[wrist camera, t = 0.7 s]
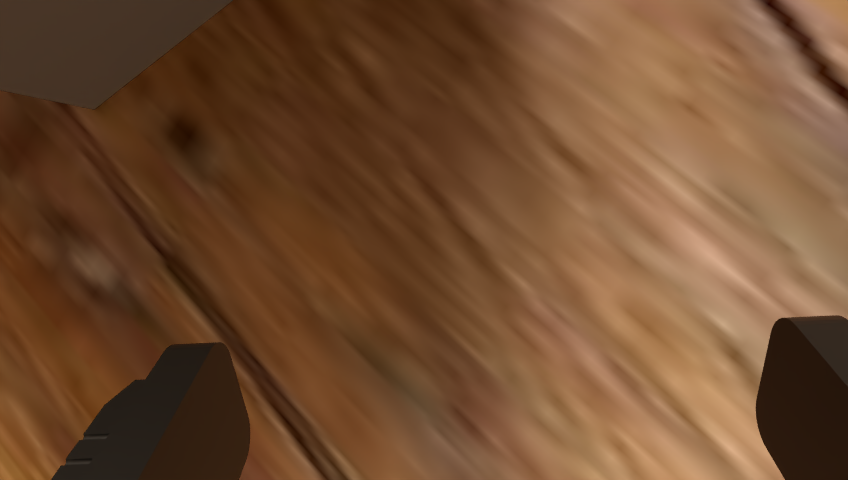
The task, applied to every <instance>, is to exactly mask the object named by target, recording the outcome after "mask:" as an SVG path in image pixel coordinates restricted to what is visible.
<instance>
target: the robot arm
mask: <svg viewBox="0 0 848 480" xmlns="http://www.w3.org/2000/svg"><path fill="white" fill-rule="evenodd" d="M756 418H757V424H758V428H759V432H760V435H761V438H762V440H763V443H764V445H765V446H766V448H767V450H768V452H769V453H770V455H771V457H772V458H773V460H774V462H775V463H776V465H777V467H778V468H779V470H780V472H781V474H782V475H783V477H784V479H785V480H848V320H847V319H846V318H844V317H842V316H814V317H792V318H781V319H778V320H777V321H776V322H775V324H774V326H773V328H772V331H771V335H770V340H769V344H768V349H767V353H766V358H765V363H764V367H763V372H762V377H761V381H760V386H759V390H758V395H757V400H756ZM83 435H84V439H83V440H79V441H78V443H77V444H76V446H75V447H74V448H73V450H72V451H71V452H70V454H69V455H68V457H67V458H66V464H65V466H60V468H59V469H58V471H57V472H56V473H55V475H54V476H53V478H52V479H51V480H239V478H240V475H241V472H242V470H243V467H244V464H245V462H246V459H247V455H248V451H249V444H250V423H249V418H248V414H247V410H246V407H245V404H244V400H243V397H242V393H241V390H240V387H239V383H238V380H237V376H236V373H235V370H234V366H233V363H232V359H231V356H230V353H229V350H228V349H227V347H226V346H225V345H224V344H223V343H221V342H218V343H196V344H175V345H171V346H169V347H168V348H167V349H166V350H165V351H164V352H163V354H162V355H161V357H160V358H159V360H158V361H157V363H156V364H155V366H154V367H153V369H152V370H151V372H150V373H149V375H148V376H147V378H146V379H145V380H135V381H134V382H132V383H131V384H130V385H129V386H127V387H126V388H125V389H124V390H122V391H121V392H120V393H119V394H118V395H116V396H115V397H114V398H113V399H111V400H110V401H109V402H108V403H106V404H105V405H104V406H103V408H102V409H101V411H100V412H99V413H98V415H97V416H96V418H95V419H94V420H93V422H92V423H91V425H90V426H89V427H88V429H87V430H86V432H85V433H84V434H83Z"/></svg>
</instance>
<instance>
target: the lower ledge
mask: <svg viewBox="0 0 848 480" xmlns="http://www.w3.org/2000/svg"><path fill="white" fill-rule="evenodd" d="M231 1H233V0H0V90H1V91H6V92H11V93H16V94H21V95H25V96H30V97H35V98H40V99H45V100H50V101H55V102H60V103H64V104H69V105H74V106H79V107H84V108H89V109H95V108H97V107H98V106H99V105H101V104H102V103H103V102H104V101H106V100H107V99H108V98H109V97H111V96H112V95H113V94H115V93H116V92H117V91H118V90H120V89H121V88H122V87H123V86H125V85H126V84H127V83H128V82H130V81H131V80H132V79H134V78H135V77H136V76H137V75H139V74H140V73H141V72H142V71H144V70H145V69H146V68H148V67H149V66H150V65H151V64H153V63H154V62H155V61H156V60H158V59H159V58H160V57H162V56H163V55H164V54H165V53H167V52H168V51H169V50H170V49H172V48H173V47H174V46H175V45H177V44H178V43H179V42H181V41H182V40H183V39H184V38H186V37H187V36H188V35H189V34H191V33H192V32H193V31H195V30H196V29H197V28H198V27H200V26H201V25H202V24H203V23H205V22H206V21H207V20H208V19H210V18H211V17H212V16H214V15H215V14H216V13H217V12H219V11H220V10H221V9H222V8H224V7H225V6H226V5H228V4H229V3H230V2H231Z"/></svg>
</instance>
